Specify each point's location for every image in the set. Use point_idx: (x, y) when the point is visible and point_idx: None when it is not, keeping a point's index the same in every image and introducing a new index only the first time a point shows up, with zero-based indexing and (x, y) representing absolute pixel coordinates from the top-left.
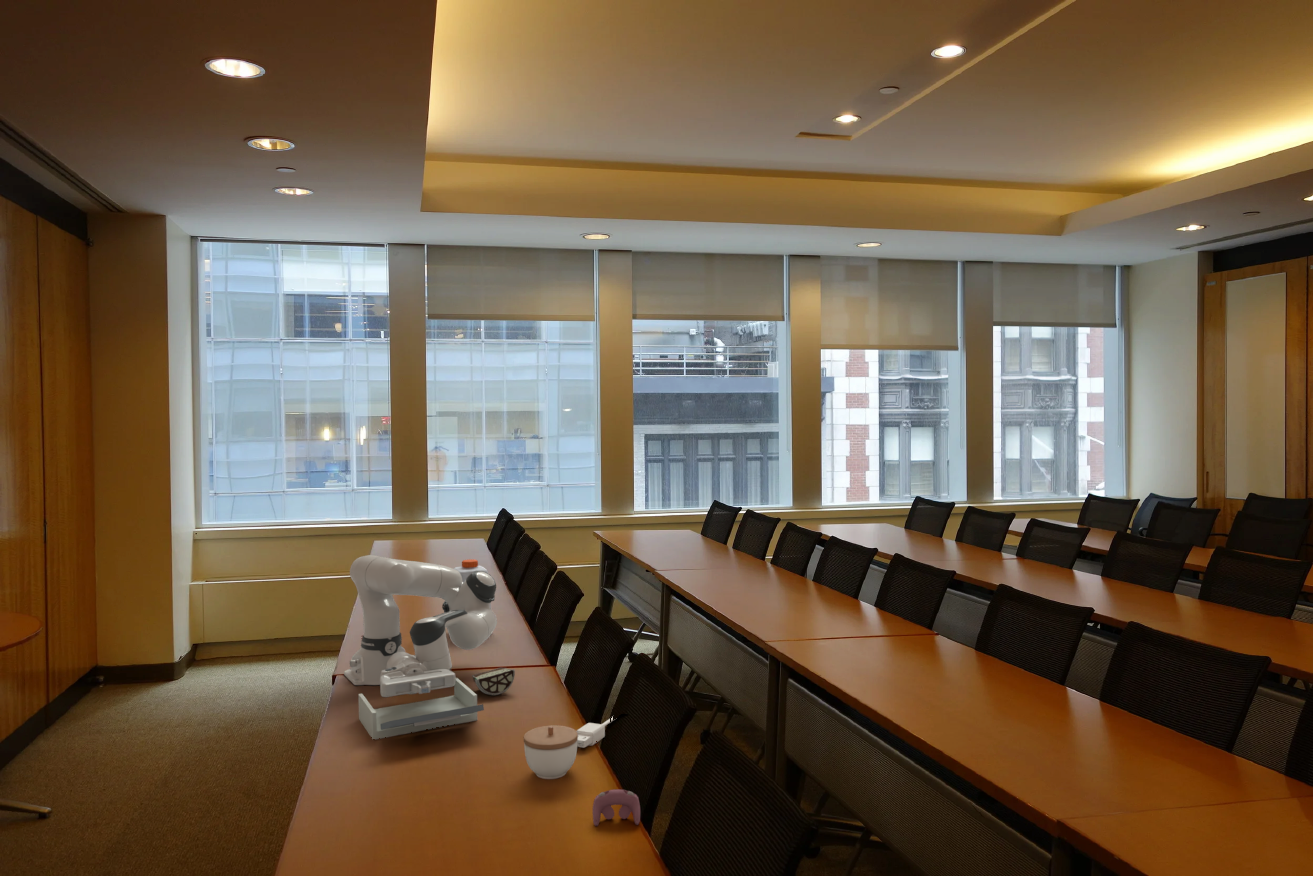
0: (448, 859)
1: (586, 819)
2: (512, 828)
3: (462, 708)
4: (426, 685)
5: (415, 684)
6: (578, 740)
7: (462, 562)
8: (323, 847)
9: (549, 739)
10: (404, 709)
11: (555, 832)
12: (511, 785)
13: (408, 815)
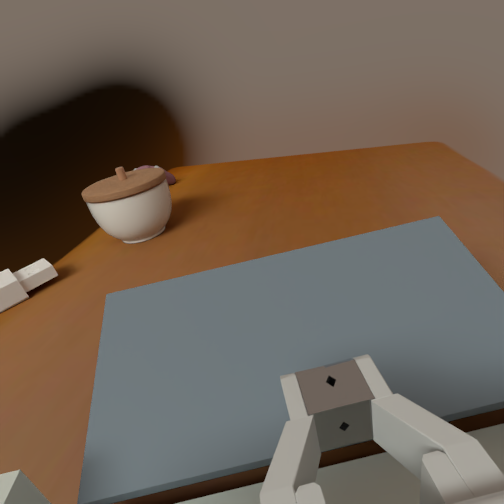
0: (296, 157)
1: (174, 187)
2: (237, 177)
3: (184, 277)
4: (310, 392)
5: (433, 432)
6: (46, 261)
7: None
8: (417, 151)
9: (137, 171)
10: None
11: (207, 177)
12: (206, 215)
13: (336, 179)
